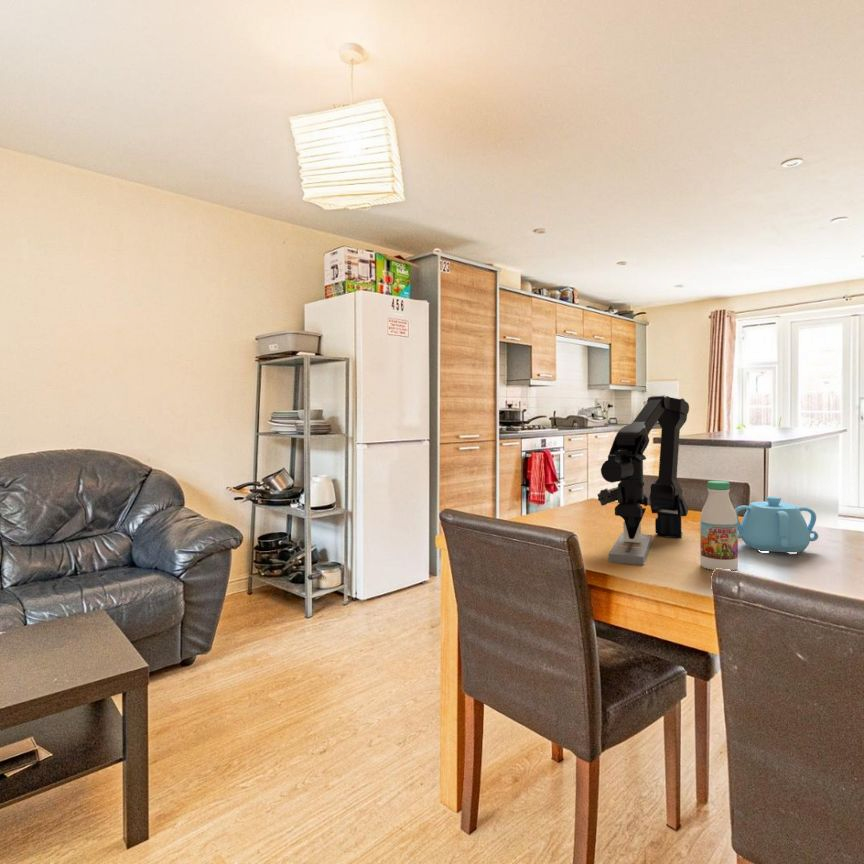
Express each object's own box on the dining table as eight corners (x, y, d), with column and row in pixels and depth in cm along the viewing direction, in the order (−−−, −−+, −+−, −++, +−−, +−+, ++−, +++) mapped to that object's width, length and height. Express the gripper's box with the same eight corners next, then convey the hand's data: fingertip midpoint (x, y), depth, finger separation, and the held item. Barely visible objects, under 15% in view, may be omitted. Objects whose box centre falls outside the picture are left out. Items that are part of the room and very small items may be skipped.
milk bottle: (693, 563, 132) (693, 480, 131) (724, 562, 133) (724, 478, 132) (712, 573, 124) (712, 484, 123) (745, 571, 125) (745, 483, 124)
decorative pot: (827, 553, 138) (828, 499, 137) (781, 561, 132) (782, 504, 131) (767, 539, 153) (767, 490, 152) (723, 546, 147) (723, 495, 147)
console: (651, 542, 153) (651, 534, 153) (643, 565, 132) (643, 556, 132) (621, 539, 157) (621, 532, 157) (608, 561, 135) (608, 553, 135)
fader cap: (641, 540, 147) (640, 521, 146) (639, 542, 144) (639, 523, 144) (625, 539, 148) (624, 520, 148) (623, 541, 146) (623, 522, 145)
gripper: (605, 473, 157) (606, 527, 158) (593, 482, 141) (594, 543, 141) (647, 474, 152) (648, 530, 153) (640, 483, 136) (641, 546, 136)
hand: (632, 537), depth 146 cm, fingers closed on fader cap, 3 cm apart
